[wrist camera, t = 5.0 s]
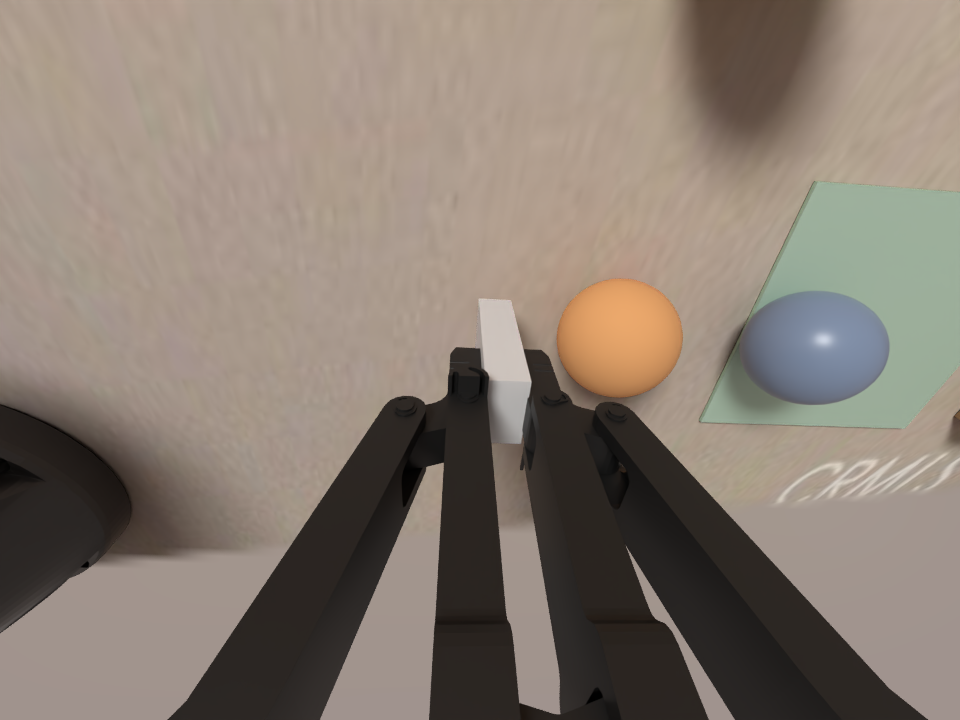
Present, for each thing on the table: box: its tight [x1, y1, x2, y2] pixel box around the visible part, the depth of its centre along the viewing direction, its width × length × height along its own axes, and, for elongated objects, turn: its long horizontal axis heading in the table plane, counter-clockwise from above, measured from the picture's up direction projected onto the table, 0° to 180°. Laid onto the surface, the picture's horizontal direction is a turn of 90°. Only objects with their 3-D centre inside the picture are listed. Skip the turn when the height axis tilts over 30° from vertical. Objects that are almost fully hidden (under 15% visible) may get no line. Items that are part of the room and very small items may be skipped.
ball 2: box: [739, 291, 890, 405], centre depth 19 cm, size 6×6×6 cm
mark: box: [699, 181, 960, 429], centre depth 21 cm, size 14×14×1 cm
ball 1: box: [557, 279, 683, 398], centre depth 18 cm, size 6×6×6 cm
